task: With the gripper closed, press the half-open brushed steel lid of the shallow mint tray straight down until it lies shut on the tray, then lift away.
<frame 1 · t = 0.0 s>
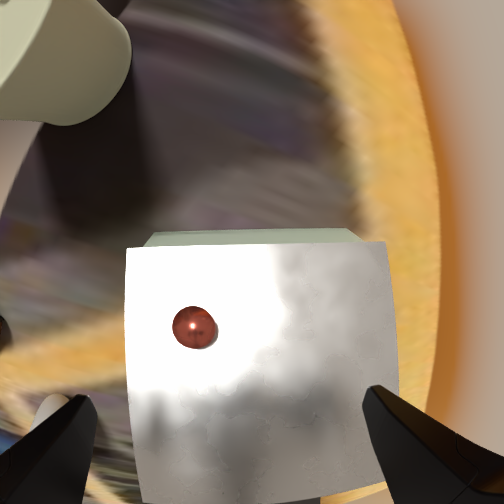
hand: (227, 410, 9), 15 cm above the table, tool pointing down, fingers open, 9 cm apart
lid: (271, 413, 14), point 11 cm above the table, hinge at 35.0°
shallow mint tray: (252, 315, 24), on the table
donut: (64, 403, 27), on the table
can: (76, 67, 17), on the table
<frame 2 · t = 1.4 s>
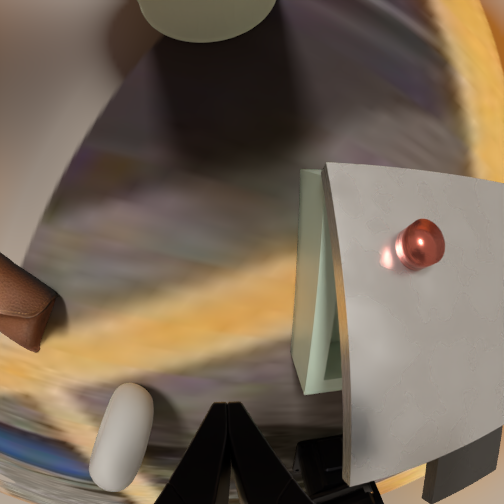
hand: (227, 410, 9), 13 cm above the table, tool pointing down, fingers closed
lid: (478, 335, 12), point 11 cm above the table, hinge at 35.0°
shallow mint tray: (384, 267, 22), on the table
donut: (131, 395, 24), on the table
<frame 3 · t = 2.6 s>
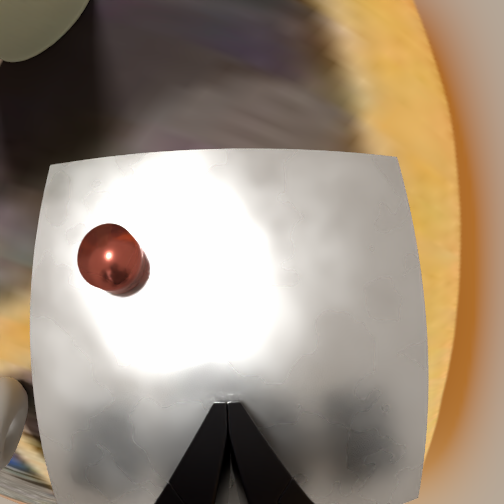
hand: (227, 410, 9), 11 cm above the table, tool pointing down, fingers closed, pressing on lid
lid: (229, 403, 9), point 11 cm above the table, hinge at 33.5°, touching gripper
donut: (21, 389, 21), on the table
can: (40, 5, 12), on the table
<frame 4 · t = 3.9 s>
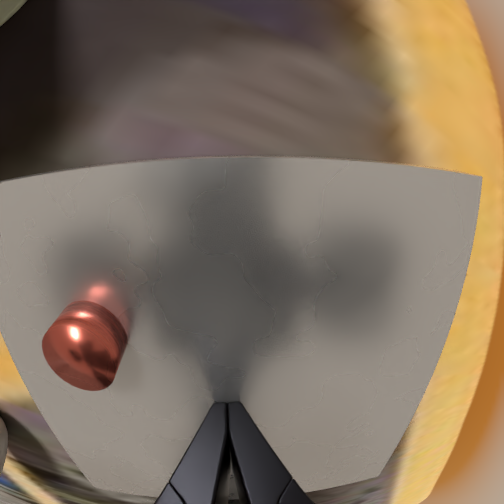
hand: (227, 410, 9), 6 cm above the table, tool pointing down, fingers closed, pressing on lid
lid: (230, 440, 9), point 6 cm above the table, hinge at -0.2°, touching gripper
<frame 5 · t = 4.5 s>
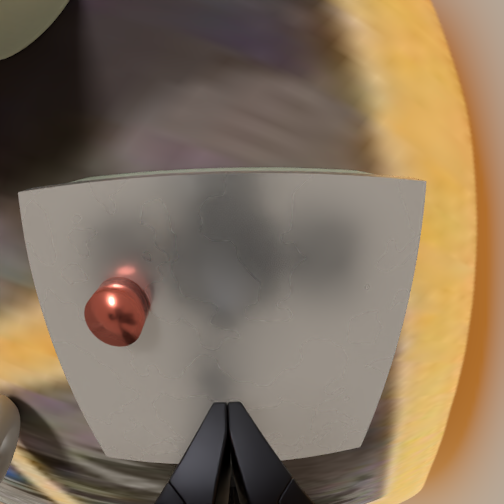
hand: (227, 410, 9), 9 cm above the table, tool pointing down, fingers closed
lid: (227, 397, 12), point 6 cm above the table, hinge at -0.2°
shallow mint tray: (224, 298, 17), on the table
donut: (12, 405, 19), on the table
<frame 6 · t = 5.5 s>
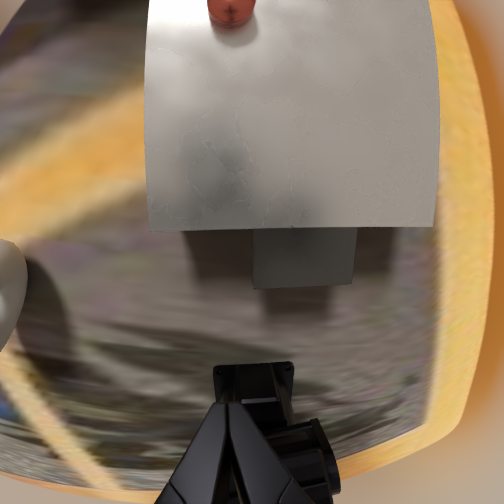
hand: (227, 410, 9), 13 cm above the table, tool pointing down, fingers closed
lid: (311, 102, 12), point 6 cm above the table, hinge at -0.2°
donut: (20, 276, 20), on the table
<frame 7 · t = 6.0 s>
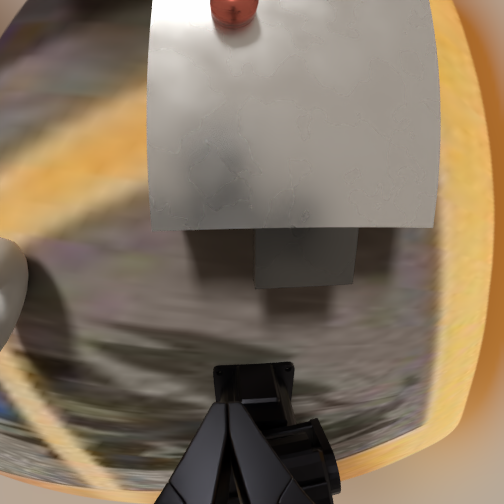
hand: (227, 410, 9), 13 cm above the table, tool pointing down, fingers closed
lid: (313, 102, 12), point 6 cm above the table, hinge at -0.2°
donut: (21, 275, 20), on the table
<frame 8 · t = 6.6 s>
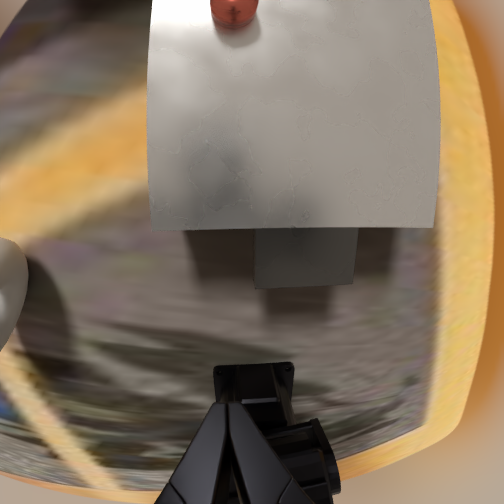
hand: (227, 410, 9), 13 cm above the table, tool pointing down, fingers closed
lid: (313, 102, 12), point 6 cm above the table, hinge at -0.2°
donut: (21, 275, 20), on the table
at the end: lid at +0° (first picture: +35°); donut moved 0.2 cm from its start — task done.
